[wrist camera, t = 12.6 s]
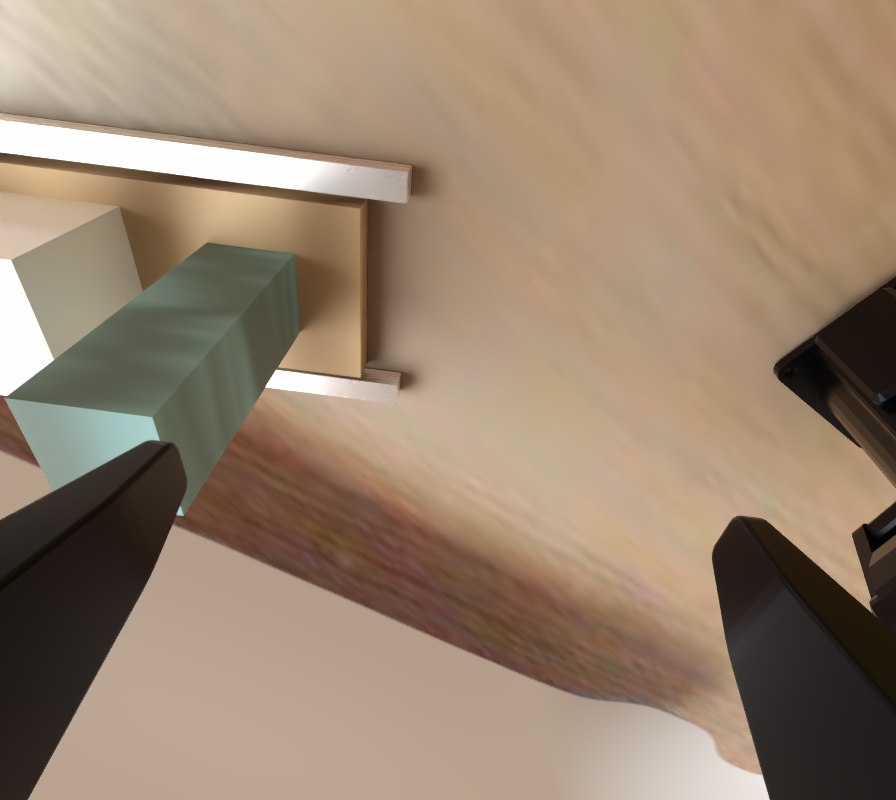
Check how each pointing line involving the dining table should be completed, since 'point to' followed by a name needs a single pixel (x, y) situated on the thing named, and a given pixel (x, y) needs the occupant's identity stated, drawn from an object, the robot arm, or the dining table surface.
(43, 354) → the cube
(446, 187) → the dining table surface
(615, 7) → the dining table surface
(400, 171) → the lane rails
